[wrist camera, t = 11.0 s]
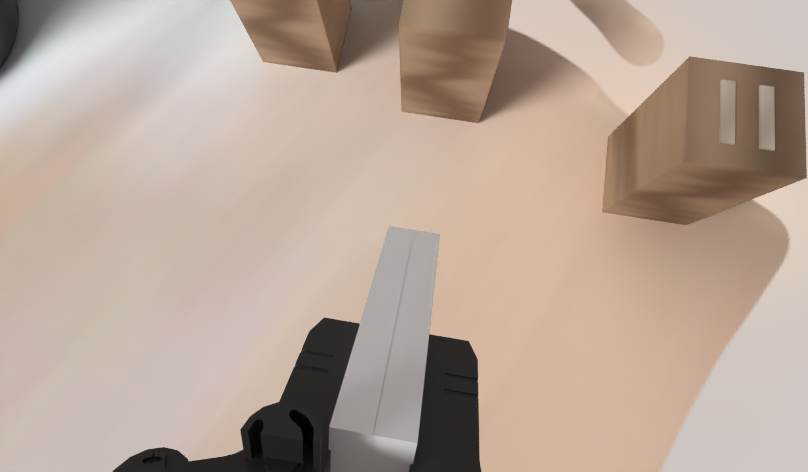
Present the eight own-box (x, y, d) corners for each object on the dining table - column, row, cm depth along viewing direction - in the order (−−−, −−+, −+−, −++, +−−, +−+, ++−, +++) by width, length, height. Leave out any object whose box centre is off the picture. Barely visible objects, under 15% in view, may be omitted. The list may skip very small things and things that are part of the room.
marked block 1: (602, 211, 32) (687, 158, 23) (608, 135, 34) (691, 53, 24) (685, 225, 32) (808, 176, 22) (688, 147, 33) (806, 68, 24)
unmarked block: (401, 111, 34) (398, 23, 25) (414, 44, 36) (416, -66, 26) (478, 123, 34) (506, 38, 24) (488, 54, 35) (519, -52, 26)
